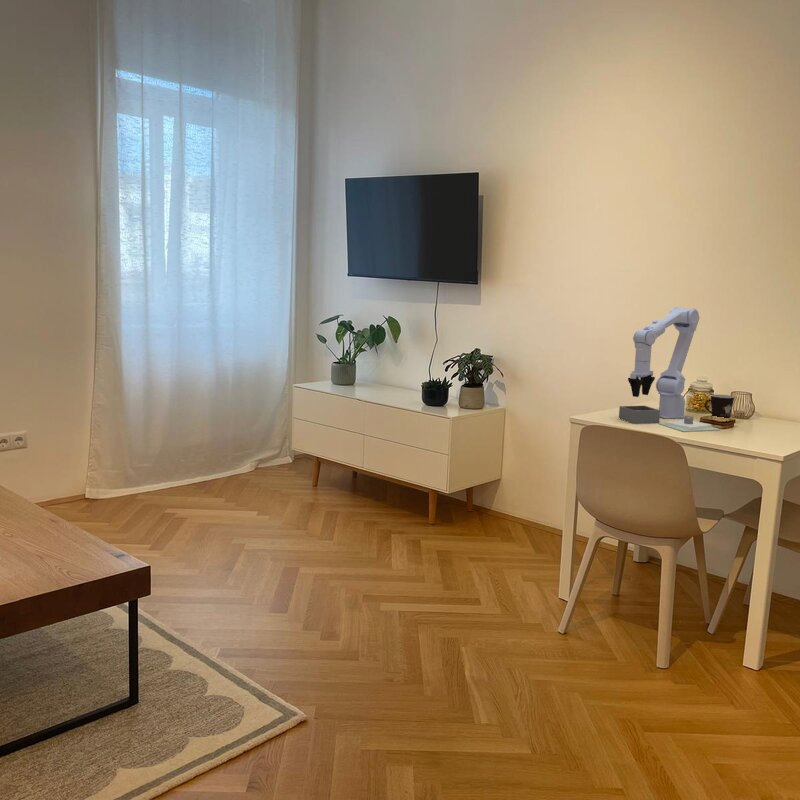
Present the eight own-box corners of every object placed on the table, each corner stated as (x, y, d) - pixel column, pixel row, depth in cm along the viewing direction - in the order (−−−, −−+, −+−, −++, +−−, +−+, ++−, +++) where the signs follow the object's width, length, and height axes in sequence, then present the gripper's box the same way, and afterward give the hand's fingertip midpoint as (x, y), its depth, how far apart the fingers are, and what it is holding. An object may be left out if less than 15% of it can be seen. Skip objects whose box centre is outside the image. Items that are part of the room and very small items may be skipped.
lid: (685, 422, 323) (686, 413, 323) (711, 427, 313) (712, 418, 313) (664, 424, 317) (665, 415, 316) (690, 430, 307) (691, 420, 306)
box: (643, 417, 333) (644, 405, 332) (659, 423, 322) (660, 410, 321) (618, 418, 330) (619, 406, 329) (634, 423, 319) (634, 411, 318)
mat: (693, 422, 325) (694, 421, 325) (720, 430, 310) (720, 429, 310) (658, 423, 320) (658, 422, 320) (683, 431, 305) (683, 430, 305)
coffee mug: (728, 419, 333) (730, 394, 331) (735, 423, 324) (737, 398, 322) (698, 418, 334) (700, 393, 332) (704, 422, 325) (706, 397, 324)
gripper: (642, 358, 330) (640, 392, 332) (624, 361, 320) (621, 396, 322) (659, 360, 325) (656, 394, 327) (640, 362, 315) (638, 398, 317)
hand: (640, 395), depth 324 cm, fingers open, 7 cm apart
